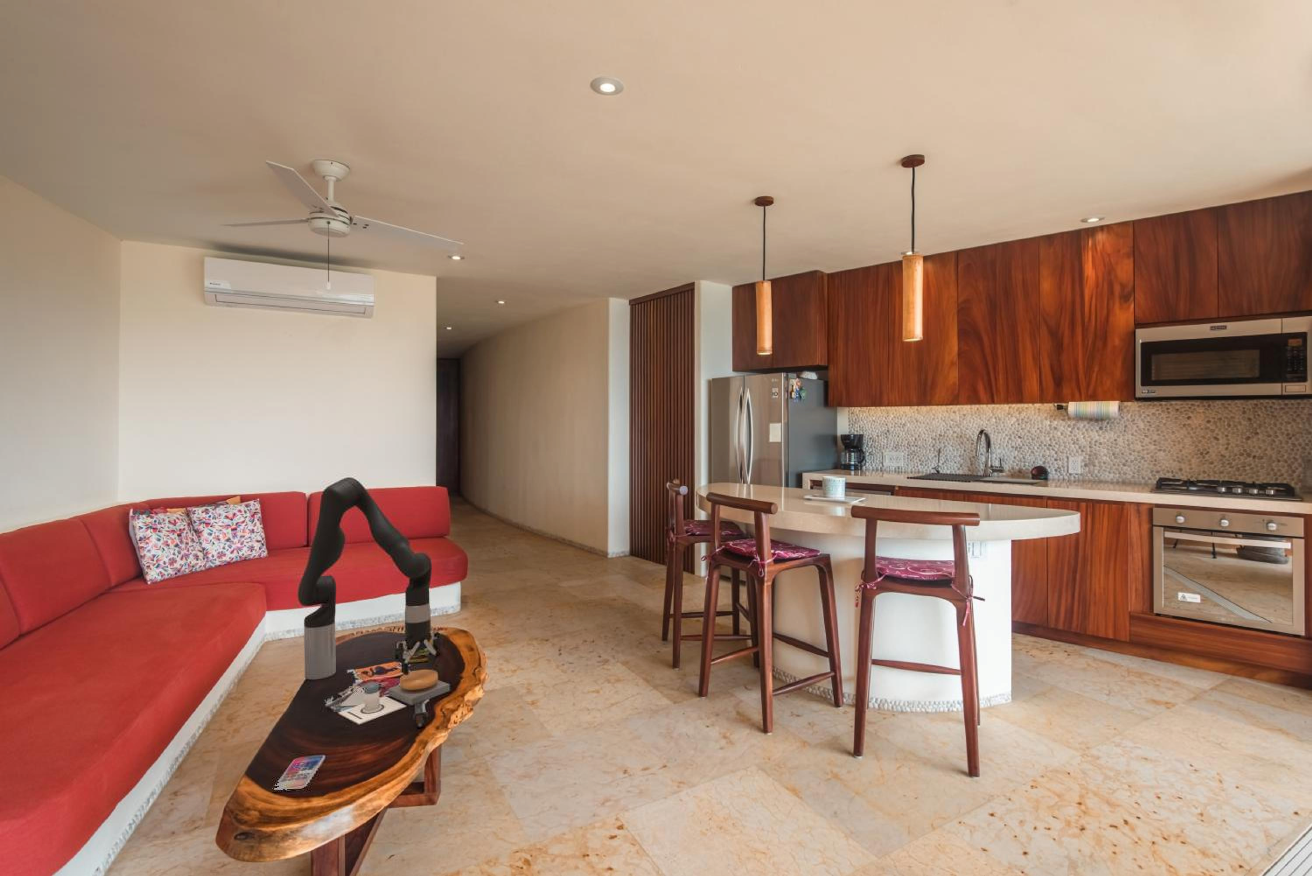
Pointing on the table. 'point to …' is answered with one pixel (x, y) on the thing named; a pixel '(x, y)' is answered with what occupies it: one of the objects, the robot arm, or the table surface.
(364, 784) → the table surface
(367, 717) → the paper
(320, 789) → the table surface
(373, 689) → the beige capped tube
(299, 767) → the smartphone
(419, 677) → the button
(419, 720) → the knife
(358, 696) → the gaming console
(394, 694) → the button base
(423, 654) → the food
